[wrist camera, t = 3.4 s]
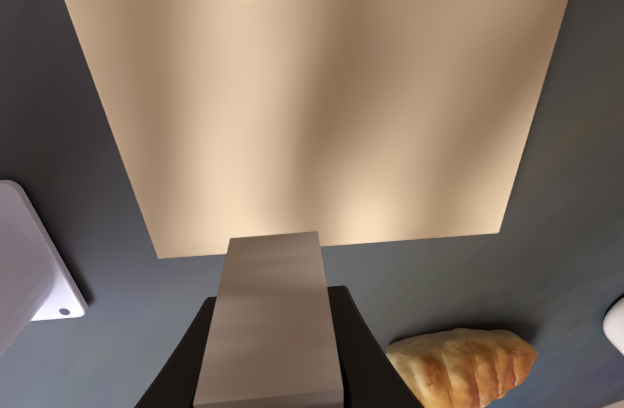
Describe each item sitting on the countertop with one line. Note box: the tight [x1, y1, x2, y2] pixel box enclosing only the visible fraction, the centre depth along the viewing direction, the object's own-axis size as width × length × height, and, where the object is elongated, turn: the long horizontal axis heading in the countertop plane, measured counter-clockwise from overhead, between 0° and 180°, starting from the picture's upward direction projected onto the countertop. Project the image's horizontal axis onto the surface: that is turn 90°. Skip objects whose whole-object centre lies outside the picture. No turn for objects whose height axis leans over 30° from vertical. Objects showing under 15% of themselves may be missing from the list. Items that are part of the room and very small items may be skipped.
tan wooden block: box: [193, 231, 343, 408], centre depth 9 cm, size 3×3×5 cm
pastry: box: [385, 328, 537, 408], centre depth 21 cm, size 9×7×4 cm
